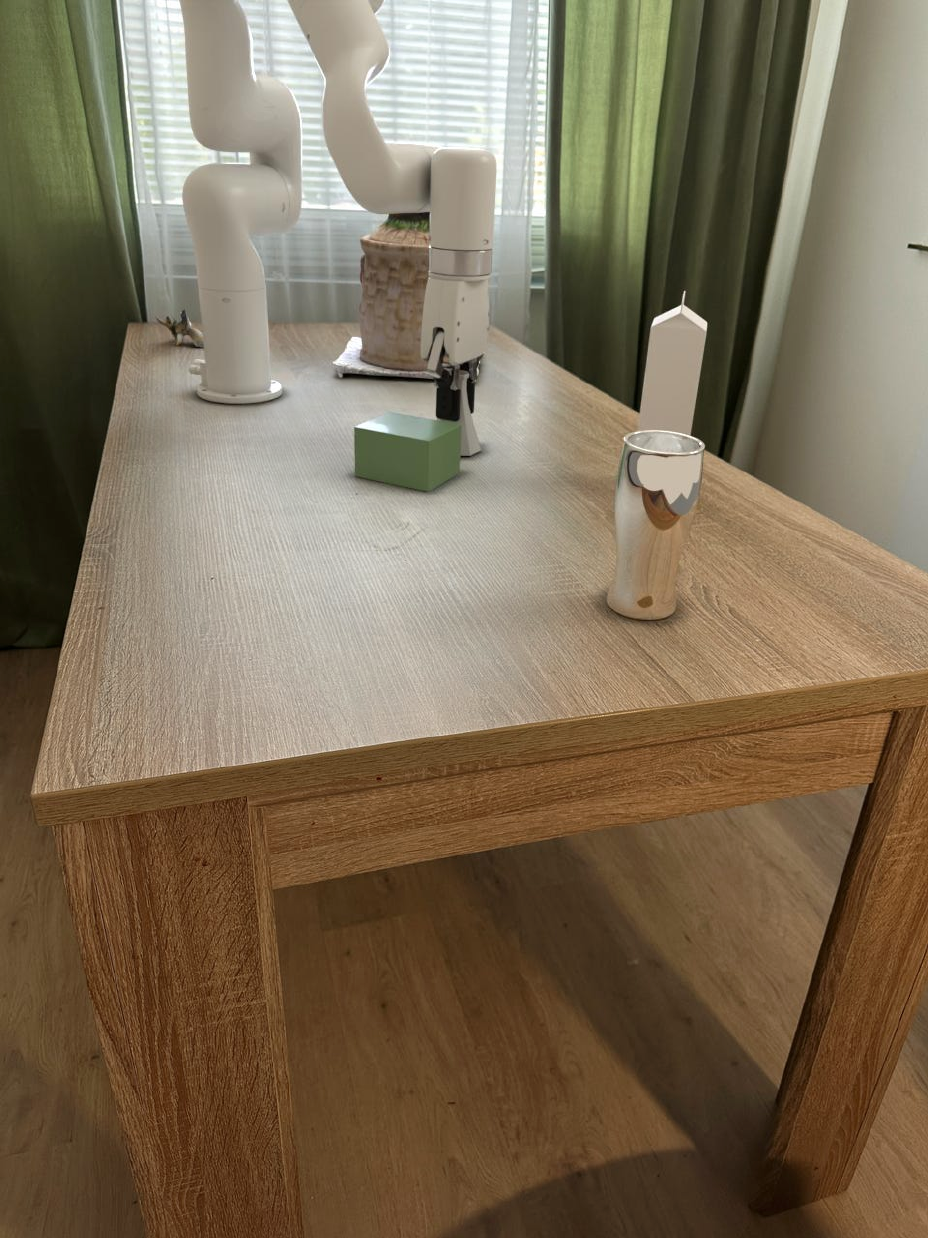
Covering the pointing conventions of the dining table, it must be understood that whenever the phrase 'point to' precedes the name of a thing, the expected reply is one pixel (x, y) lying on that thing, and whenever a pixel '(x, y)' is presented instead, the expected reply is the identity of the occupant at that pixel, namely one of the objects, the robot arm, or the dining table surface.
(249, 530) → the dining table surface
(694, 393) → the milk
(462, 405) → the flask
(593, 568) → the dining table surface
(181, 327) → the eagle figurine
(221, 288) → the robot arm
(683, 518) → the beer glass
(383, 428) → the green block
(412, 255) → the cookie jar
